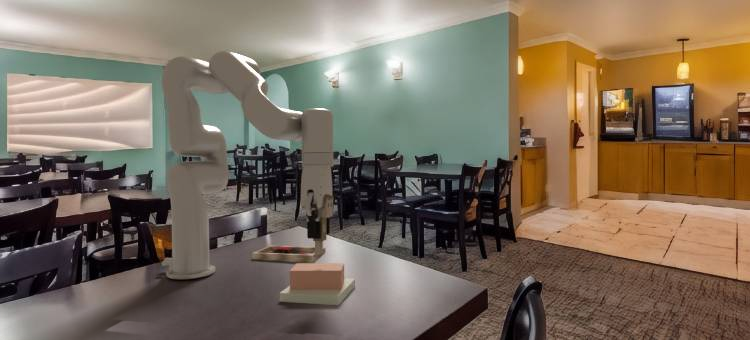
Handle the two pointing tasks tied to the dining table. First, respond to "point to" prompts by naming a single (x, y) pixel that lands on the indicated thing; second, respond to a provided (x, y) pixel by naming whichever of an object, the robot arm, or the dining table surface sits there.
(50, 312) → the dining table surface
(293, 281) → the brick
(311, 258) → the car corral
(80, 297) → the dining table surface
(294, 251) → the toy car
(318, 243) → the toy
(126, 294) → the dining table surface
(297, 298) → the plate
